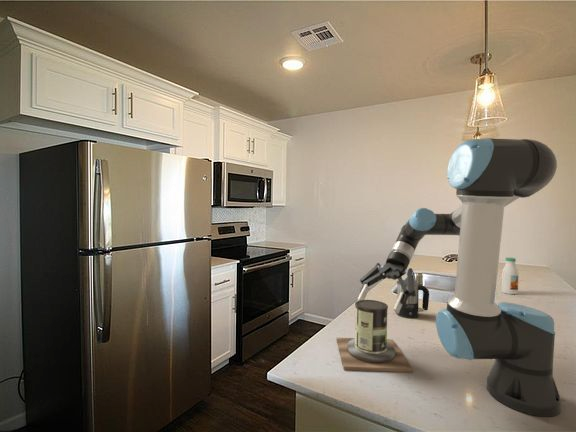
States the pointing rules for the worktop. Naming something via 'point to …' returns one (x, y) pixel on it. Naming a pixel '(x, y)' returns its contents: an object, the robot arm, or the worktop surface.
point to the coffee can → (371, 326)
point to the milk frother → (412, 300)
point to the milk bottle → (510, 277)
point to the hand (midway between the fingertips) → (376, 306)
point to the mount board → (370, 366)
